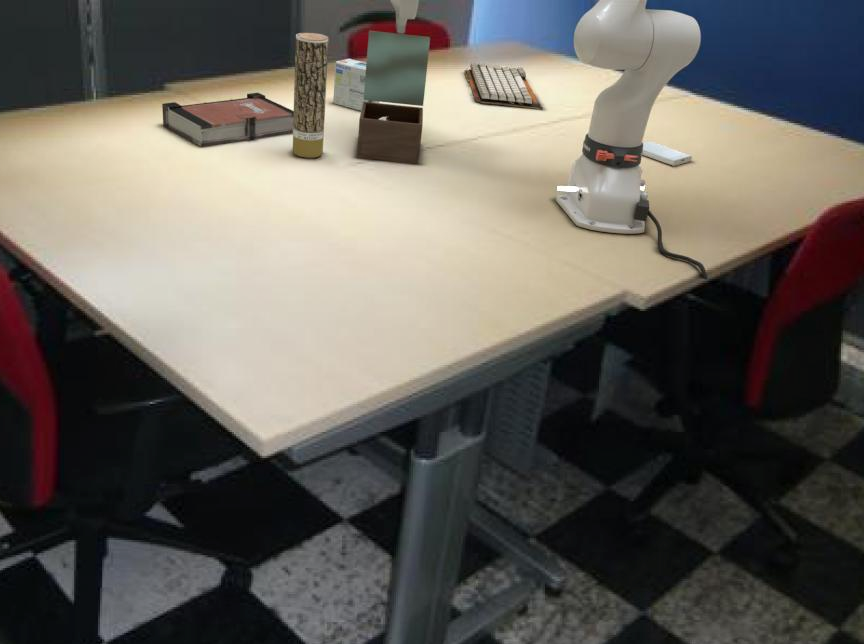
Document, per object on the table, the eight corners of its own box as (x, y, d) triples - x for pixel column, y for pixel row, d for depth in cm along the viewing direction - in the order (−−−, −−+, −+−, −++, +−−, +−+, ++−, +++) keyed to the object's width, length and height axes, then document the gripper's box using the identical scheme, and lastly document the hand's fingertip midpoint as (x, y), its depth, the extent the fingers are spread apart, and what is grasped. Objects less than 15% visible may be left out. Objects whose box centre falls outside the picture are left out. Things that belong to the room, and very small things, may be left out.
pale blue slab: (430, 37, 205) (430, 37, 206) (369, 30, 205) (369, 30, 206) (423, 106, 210) (423, 106, 211) (363, 99, 210) (363, 99, 210)
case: (418, 164, 204) (422, 125, 199) (356, 157, 203) (359, 118, 198) (418, 144, 215) (422, 107, 211) (360, 138, 215) (363, 101, 210)
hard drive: (632, 145, 226) (674, 159, 219) (650, 140, 231) (692, 154, 224) (630, 151, 227) (672, 166, 220) (649, 147, 232) (691, 161, 225)
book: (202, 147, 199) (202, 125, 196) (163, 125, 209) (162, 103, 206) (299, 133, 214) (300, 111, 212) (257, 113, 225) (258, 92, 222)
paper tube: (328, 155, 202) (335, 38, 189) (306, 161, 198) (311, 41, 184) (308, 147, 206) (313, 31, 192) (286, 152, 202) (289, 34, 188)
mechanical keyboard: (543, 109, 253) (545, 97, 251) (475, 104, 251) (477, 91, 250) (522, 76, 284) (524, 65, 283) (462, 71, 283) (463, 60, 281)
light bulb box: (379, 108, 239) (383, 65, 233) (365, 112, 234) (368, 69, 228) (346, 99, 243) (349, 57, 237) (332, 103, 238) (334, 61, 232)
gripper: (387, -42, 209) (382, 21, 216) (397, -28, 192) (391, 40, 200) (413, -40, 210) (407, 23, 217) (426, -25, 193) (419, 43, 201)
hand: (400, 32), depth 208 cm, fingers closed
